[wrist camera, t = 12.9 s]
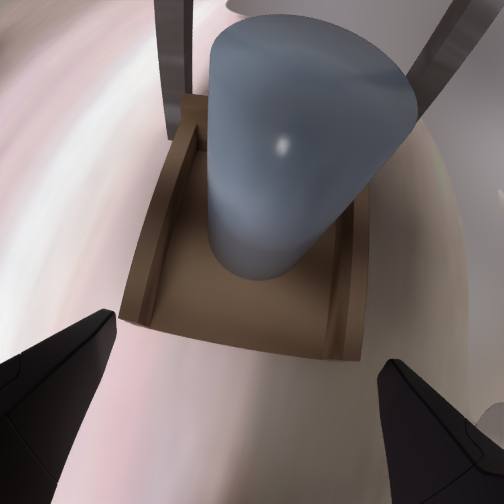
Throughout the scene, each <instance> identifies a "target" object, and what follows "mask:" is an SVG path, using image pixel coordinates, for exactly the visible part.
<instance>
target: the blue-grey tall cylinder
mask: <svg viewBox="0 0 504 504" xmlns="http://www.w3.org/2000/svg"><path fill="white" fill-rule="evenodd" d="M417 117H418V106H417V100H416V97H415V93H414V91H413V89H412V87H411V85H410V83H409V81H408V80H407V78H406V76H405V75H404V74H403V72H402V71H401V70H400V68H399V67H398V66H397V65H396V64H395V63H394V62H393V61H392V60H391V59H390V58H389V57H388V56H387V55H386V54H385V53H383V52H382V51H381V50H380V49H378V48H377V47H376V46H374V45H373V44H371V43H370V42H368V41H367V40H365V39H364V38H362V37H360V36H358V35H357V34H355V33H353V32H351V31H349V30H346V29H344V28H341V27H339V26H337V25H334V24H331V23H328V22H325V21H322V20H318V19H314V18H309V17H304V16H297V15H284V14H279V15H278V14H277V15H276V14H275V15H262V16H257V17H251V18H248V19H245V20H242V21H239V22H237V23H235V24H233V25H231V26H229V27H228V28H226V29H225V30H224V31H223V32H221V33H220V34H219V36H218V37H217V38H216V39H215V41H214V43H213V45H212V48H211V53H210V68H209V96H208V142H207V218H208V240H209V245H210V247H211V250H212V252H213V254H214V256H215V257H216V259H217V260H218V262H219V263H220V264H221V265H222V266H223V267H224V268H226V269H227V270H228V271H229V272H231V273H233V274H234V275H237V276H239V277H241V278H244V279H248V280H255V281H263V280H270V279H274V278H277V277H279V276H281V275H283V274H285V273H286V272H288V271H289V270H291V269H292V268H293V267H294V266H295V265H296V263H297V262H298V261H299V260H300V259H301V258H302V257H303V256H304V255H305V254H306V253H307V251H308V250H309V249H310V248H311V247H312V246H313V245H314V244H315V243H316V242H317V240H318V239H319V238H320V237H321V236H322V235H323V234H324V233H325V232H326V230H327V229H328V228H329V227H330V226H331V225H332V224H333V223H334V221H335V220H336V219H337V218H338V217H339V216H340V215H341V214H342V212H343V211H344V210H345V209H346V208H347V207H348V206H349V204H350V203H351V202H352V201H353V200H354V199H355V198H356V196H357V195H358V194H359V193H360V192H361V191H362V190H363V188H364V187H365V186H366V185H367V184H368V183H369V181H370V180H371V179H372V178H373V177H374V176H375V174H376V173H377V172H378V171H379V170H380V168H381V167H382V166H383V165H384V164H385V163H386V161H387V160H388V159H389V158H390V157H391V155H392V154H393V153H394V152H395V151H396V149H397V148H398V147H399V146H400V145H401V143H402V142H403V141H404V140H405V139H406V137H407V136H408V135H409V134H410V132H411V131H412V130H413V128H414V126H415V124H416V121H417Z"/></svg>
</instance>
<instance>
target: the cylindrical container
mask: <svg viewBox="0 0 504 504" xmlns="http://www.w3.org/2000/svg"><path fill="white" fill-rule="evenodd" d="M476 428H477V429H479V430H480V431H481V432H482V433H483V434H485V435H486V436H487V437H488V438H490V439H491V440H492V441H493V442H495V443H496V444H497V445H499V446H500V447H501V448H502V449H504V403H497V404H495V405H493V406H491V407H490V408H489V409H488V410H487V411H486V412H485V413H484V414H483V415H482V417H481V418H480V420H479V421H478V423H477V425H476Z"/></svg>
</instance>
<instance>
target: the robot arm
mask: <svg viewBox="0 0 504 504" xmlns="http://www.w3.org/2000/svg"><path fill="white" fill-rule="evenodd" d="M116 334H117V328H116V315H115V312H114V311H111V310H107V309H101V310H99V311H97V312H95V313H93V314H91V315H89V316H88V317H86V318H84V319H82V320H80V321H78V322H76V323H75V324H73V325H71V326H69V327H67V328H65V329H63V330H62V331H60V332H58V333H56V334H54V335H52V336H51V337H49V338H47V339H45V340H43V341H41V342H40V343H38V344H36V345H34V346H32V347H30V348H29V349H27V350H25V351H23V352H21V355H20V354H18V355H16V356H14V357H12V358H10V359H8V360H7V361H5V362H3V363H1V364H0V504H51V501H52V499H53V496H54V493H55V490H56V487H57V483H58V481H59V479H60V476H61V473H62V471H63V468H64V465H65V463H66V460H67V458H68V455H69V453H70V450H71V448H72V445H73V443H74V440H75V438H76V435H77V433H78V431H79V428H80V426H81V424H82V421H83V419H84V417H85V414H86V412H87V410H88V408H89V405H90V403H91V401H92V399H93V397H94V394H95V392H96V390H97V388H98V386H99V384H100V381H101V379H102V377H103V374H104V371H105V368H106V365H107V362H108V359H109V356H110V353H111V350H112V347H113V345H114V342H115V339H116ZM377 385H378V396H379V409H380V419H381V426H382V432H383V438H384V444H385V450H386V457H387V464H388V472H389V479H390V488H391V497H392V504H504V449H502V448H501V447H500V446H499V445H497V444H496V443H495V442H493V441H492V440H491V439H490V438H488V437H487V436H486V435H485V434H483V433H482V432H481V431H480V430H479V429H477V428H476V427H475V426H474V425H473V424H472V423H471V422H470V421H468V420H467V419H466V418H464V416H463V415H462V414H461V413H460V412H458V411H457V410H456V409H455V408H454V407H453V406H452V405H451V404H450V403H449V402H447V401H446V400H445V399H444V398H443V397H442V396H441V395H440V394H438V393H437V392H436V391H435V390H434V389H433V388H432V387H431V386H430V385H428V384H427V383H426V382H425V381H424V380H423V379H422V378H421V377H419V376H418V375H417V374H416V373H415V372H414V371H413V370H412V369H410V368H409V367H408V366H407V365H406V364H405V363H404V362H403V361H401V360H400V359H389V360H388V361H387V362H386V364H385V365H384V367H383V368H382V370H381V372H380V373H379V375H378V378H377Z"/></svg>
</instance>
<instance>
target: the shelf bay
mask: <svg viewBox="0 0 504 504" xmlns="http://www.w3.org/2000/svg"><path fill="white" fill-rule="evenodd" d="M503 6H504V0H453V1H452V3H451V5H450V6H449V8H448V10H447V11H446V13H445V15H444V16H443V18H442V19H441V21H440V23H439V24H438V26H437V28H436V29H435V31H434V32H433V34H432V36H431V37H430V39H429V40H428V42H427V44H426V45H425V47H424V48H423V50H422V52H421V53H420V55H419V56H418V58H417V59H416V61H415V62H414V64H413V66H412V67H411V69H410V70H409V72H408V73H407V75H406V78H407V80H408V81H409V83H410V85H411V87H412V89H413V91H414V93H415V97H416V100H417V106H418V117H417V121H418V120H419V119H420V117H421V116H422V115H423V114H424V112H425V111H426V110H427V109H428V107H429V106H430V105H431V103H432V102H433V101H434V100H435V98H436V97H437V96H438V95H439V93H440V92H441V91H442V89H443V88H444V87H445V85H446V84H447V83H448V81H449V80H450V79H451V78H452V76H453V75H454V74H455V72H456V71H457V70H458V68H459V67H460V66H461V64H462V63H463V62H464V60H465V59H466V57H467V56H468V55H469V54H470V52H471V51H472V50H473V48H474V47H475V46H476V44H477V43H478V41H479V40H480V39H481V37H482V36H483V34H484V33H485V32H486V30H487V29H488V28H489V26H490V25H491V23H492V22H493V20H494V19H495V17H496V16H497V15H498V13H499V12H500V10H501V9H502V7H503ZM154 10H155V24H156V37H157V49H158V60H159V70H160V79H161V88H162V97H163V105H164V113H165V121H166V128H167V135H168V140H172V141H173V142H172V145H171V147H170V150H169V152H168V155H167V157H166V160H165V163H164V165H163V168H162V171H161V174H160V176H159V179H158V182H157V185H156V188H155V190H154V193H153V196H152V199H151V202H150V205H149V208H148V211H147V214H146V217H145V221H144V224H143V227H142V230H141V233H140V237H139V240H138V243H137V247H136V250H135V254H134V257H133V261H132V264H131V268H130V272H129V275H128V279H127V283H126V287H125V291H124V295H123V299H122V303H121V307H120V312H119V316H118V318H119V319H122V320H124V321H126V322H129V323H131V324H134V325H137V326H141V327H145V328H149V329H153V330H157V331H161V332H165V333H170V334H174V335H178V336H183V337H187V338H192V339H197V340H202V341H207V342H212V343H217V344H222V345H227V346H233V347H238V348H244V349H250V350H256V351H262V352H268V353H275V354H281V355H288V356H296V357H303V358H311V359H320V360H328V361H360V357H361V349H362V340H363V331H364V320H365V309H366V296H367V280H368V258H369V183H368V184H367V185H366V186H365V187H364V188H363V190H362V191H361V192H360V193H359V194H358V195H357V196H356V198H355V199H354V200H353V201H352V202H351V203H350V204H349V206H348V207H347V208H346V209H345V210H344V211H343V212H342V214H341V215H340V216H339V217H338V218H337V219H336V220H335V221H334V223H333V224H332V225H331V226H330V227H329V228H328V229H327V230H326V232H325V233H324V234H323V235H322V236H321V237H320V238H319V239H318V240H317V242H316V243H315V244H314V245H313V246H312V247H311V248H310V249H309V250H308V251H307V253H306V254H305V255H304V256H303V257H302V258H301V259H300V260H299V261H298V262H297V263H296V265H295V266H294V267H293V268H292V269H291V270H289V271H288V272H286V273H285V274H283V275H281V276H279V277H277V278H274V279H270V280H263V281H255V280H248V279H244V278H241V277H239V276H237V275H234V274H233V273H231V272H229V271H228V270H227V269H226V268H224V267H223V266H222V265H221V264H220V263H219V262H218V260H217V259H216V257H215V256H214V254H213V252H212V250H211V247H210V245H209V240H208V218H207V142H208V96H202V95H195V94H192V29H193V0H154ZM417 121H416V122H417Z"/></svg>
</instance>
